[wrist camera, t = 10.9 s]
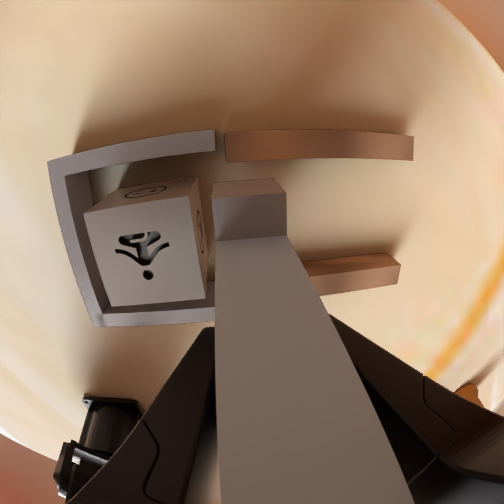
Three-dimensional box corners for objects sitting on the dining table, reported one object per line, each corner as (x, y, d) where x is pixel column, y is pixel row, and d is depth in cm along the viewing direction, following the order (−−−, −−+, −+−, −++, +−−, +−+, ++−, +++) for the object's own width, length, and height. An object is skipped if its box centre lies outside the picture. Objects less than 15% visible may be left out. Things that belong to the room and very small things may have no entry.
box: (107, 301, 19) (94, 326, 16) (71, 154, 14) (47, 161, 12) (229, 292, 19) (232, 319, 17) (214, 129, 15) (213, 129, 12)
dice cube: (197, 175, 16) (188, 195, 12) (208, 254, 18) (205, 298, 14) (117, 188, 16) (83, 213, 11) (134, 263, 18) (111, 306, 13)
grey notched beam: (225, 296, 14) (249, 568, 3) (212, 182, 12) (201, 582, 1) (275, 291, 14) (352, 549, 4) (273, 178, 12) (489, 492, 1)
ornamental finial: (468, 377, 31) (476, 386, 33) (432, 409, 33) (445, 414, 35) (493, 412, 24) (498, 416, 26) (453, 446, 26) (464, 446, 28)
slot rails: (236, 288, 19) (238, 305, 18) (224, 132, 15) (224, 133, 13) (384, 270, 20) (397, 283, 18) (396, 134, 16) (413, 136, 14)
